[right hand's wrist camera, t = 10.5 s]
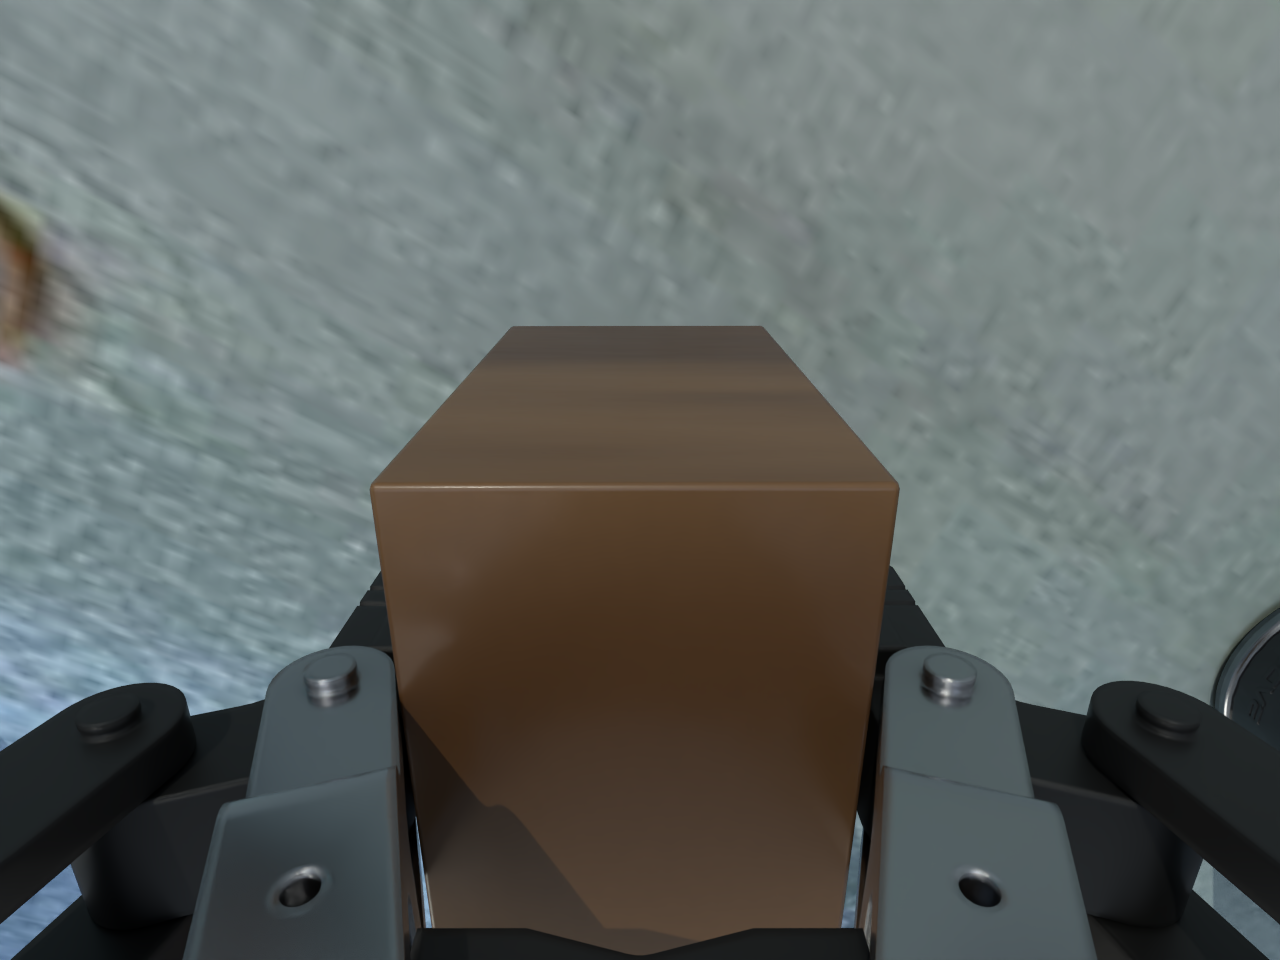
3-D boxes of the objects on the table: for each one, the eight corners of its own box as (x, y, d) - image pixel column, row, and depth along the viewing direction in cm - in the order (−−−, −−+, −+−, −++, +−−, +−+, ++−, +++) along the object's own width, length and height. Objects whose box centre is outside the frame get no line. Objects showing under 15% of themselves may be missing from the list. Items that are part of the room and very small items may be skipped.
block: (510, 325, 14) (365, 484, 7) (764, 325, 14) (902, 484, 7) (559, 1098, 22) (519, 1554, 15) (719, 1098, 22) (758, 1554, 15)
